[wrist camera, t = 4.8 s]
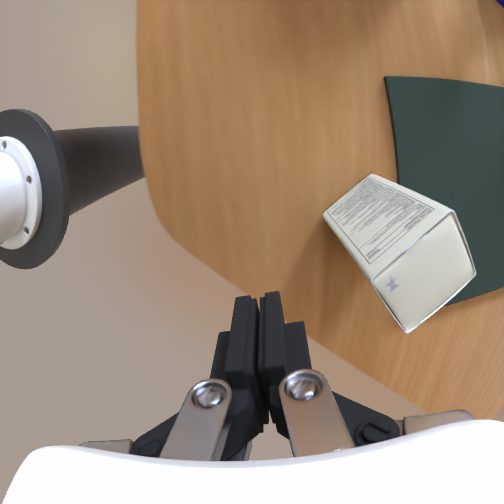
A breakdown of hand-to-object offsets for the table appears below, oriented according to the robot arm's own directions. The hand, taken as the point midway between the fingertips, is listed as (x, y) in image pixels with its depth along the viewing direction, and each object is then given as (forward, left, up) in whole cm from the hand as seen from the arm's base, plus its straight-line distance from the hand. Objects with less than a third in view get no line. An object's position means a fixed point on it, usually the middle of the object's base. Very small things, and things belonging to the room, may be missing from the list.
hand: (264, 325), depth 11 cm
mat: (+19, 0, -11) cm, 22 cm away
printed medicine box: (+8, 0, -11) cm, 13 cm away
